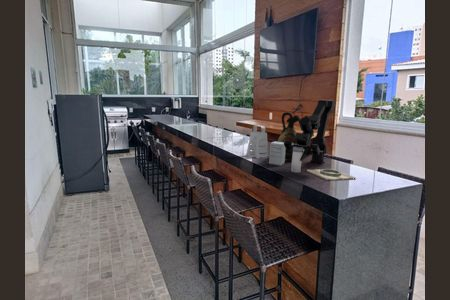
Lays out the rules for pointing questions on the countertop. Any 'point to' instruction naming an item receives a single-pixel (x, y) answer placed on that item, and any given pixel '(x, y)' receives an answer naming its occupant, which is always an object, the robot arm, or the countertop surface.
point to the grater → (258, 143)
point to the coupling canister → (296, 159)
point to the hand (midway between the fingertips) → (295, 159)
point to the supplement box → (277, 153)
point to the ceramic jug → (288, 132)
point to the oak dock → (330, 174)
